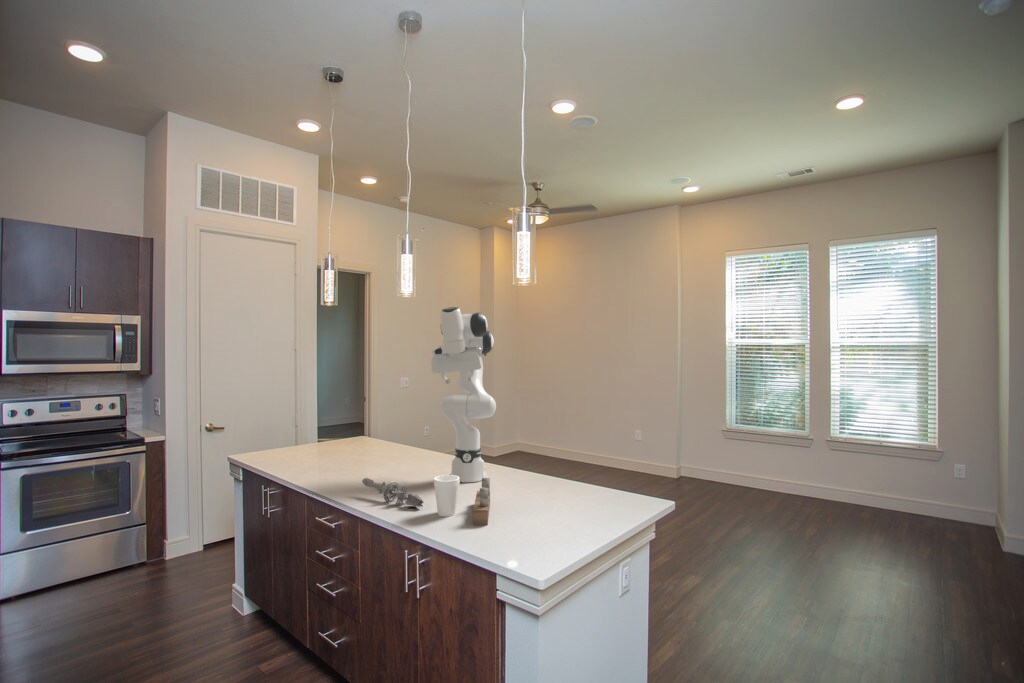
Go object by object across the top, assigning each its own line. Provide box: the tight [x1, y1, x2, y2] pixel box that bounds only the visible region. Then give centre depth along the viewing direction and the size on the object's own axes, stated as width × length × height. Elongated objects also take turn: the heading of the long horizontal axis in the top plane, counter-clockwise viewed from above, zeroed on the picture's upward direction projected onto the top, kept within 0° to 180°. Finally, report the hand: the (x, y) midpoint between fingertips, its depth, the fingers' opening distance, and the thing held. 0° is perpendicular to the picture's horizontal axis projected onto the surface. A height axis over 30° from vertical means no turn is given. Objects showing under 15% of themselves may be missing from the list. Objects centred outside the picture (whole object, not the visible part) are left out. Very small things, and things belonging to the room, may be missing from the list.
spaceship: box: [361, 477, 425, 508], centre depth 201 cm, size 8×35×8 cm
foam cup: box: [433, 474, 461, 518], centre depth 187 cm, size 10×9×13 cm
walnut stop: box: [472, 477, 491, 526], centre depth 187 cm, size 24×5×11 cm, turn 1°
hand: (458, 382), depth 202 cm, fingers open, 8 cm apart
